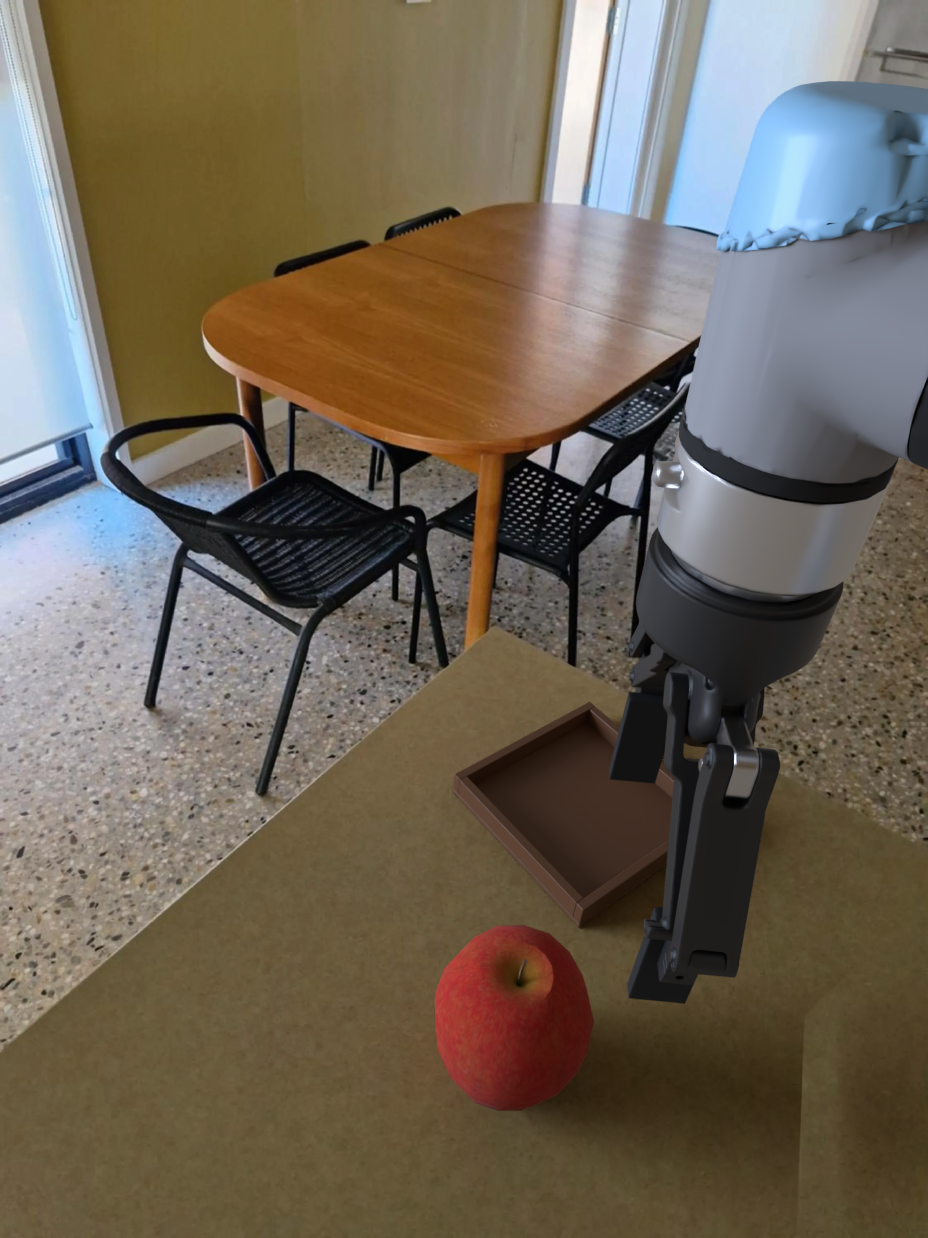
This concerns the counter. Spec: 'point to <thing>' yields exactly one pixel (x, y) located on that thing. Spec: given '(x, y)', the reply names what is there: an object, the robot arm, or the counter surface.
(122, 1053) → the counter surface
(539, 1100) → the apple
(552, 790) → the tray
